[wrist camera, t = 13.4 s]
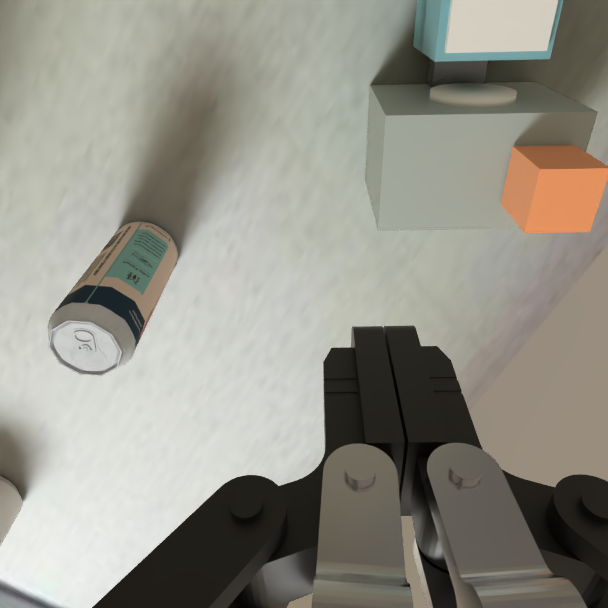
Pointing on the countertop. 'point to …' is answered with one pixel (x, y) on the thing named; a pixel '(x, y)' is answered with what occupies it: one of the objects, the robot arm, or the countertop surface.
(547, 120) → the cabinet
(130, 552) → the countertop surface
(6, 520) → the can
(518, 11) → the box
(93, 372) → the beer can
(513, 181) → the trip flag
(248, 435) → the countertop surface
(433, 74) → the rail
